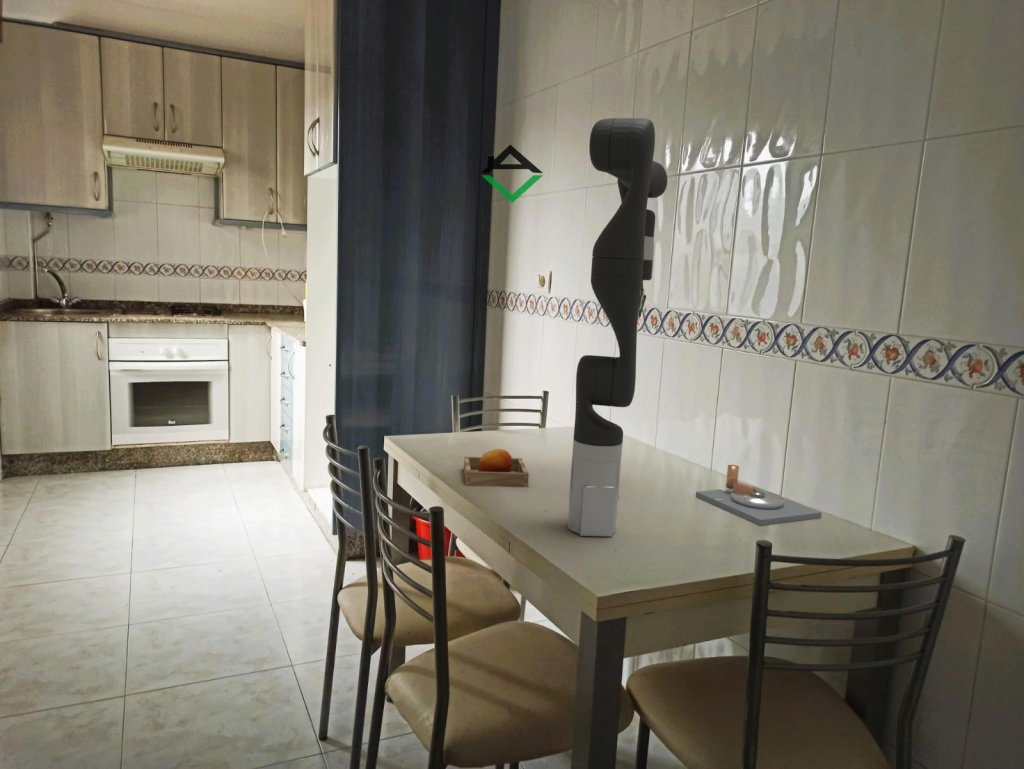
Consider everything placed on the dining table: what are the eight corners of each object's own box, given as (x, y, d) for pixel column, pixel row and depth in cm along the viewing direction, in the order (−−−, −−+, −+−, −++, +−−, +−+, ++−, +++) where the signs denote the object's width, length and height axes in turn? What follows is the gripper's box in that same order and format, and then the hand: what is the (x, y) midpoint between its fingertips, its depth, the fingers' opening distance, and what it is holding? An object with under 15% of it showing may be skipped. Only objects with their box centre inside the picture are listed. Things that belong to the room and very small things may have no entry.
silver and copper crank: (794, 504, 161) (797, 477, 160) (763, 512, 155) (766, 483, 154) (741, 488, 172) (744, 462, 171) (710, 494, 166) (713, 467, 165)
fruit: (507, 479, 168) (493, 447, 169) (481, 491, 172) (468, 459, 173) (525, 472, 175) (512, 441, 176) (500, 484, 179) (487, 453, 180)
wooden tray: (528, 486, 168) (528, 474, 168) (466, 485, 167) (466, 472, 166) (521, 470, 182) (521, 458, 182) (463, 468, 181) (464, 456, 180)
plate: (820, 517, 158) (821, 511, 157) (759, 525, 150) (760, 518, 150) (752, 490, 175) (753, 484, 175) (694, 496, 168) (695, 490, 168)
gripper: (643, 257, 156) (637, 339, 159) (660, 259, 168) (654, 336, 171) (609, 255, 159) (604, 336, 162) (628, 258, 171) (622, 333, 174)
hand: (629, 336), depth 166 cm, fingers closed
